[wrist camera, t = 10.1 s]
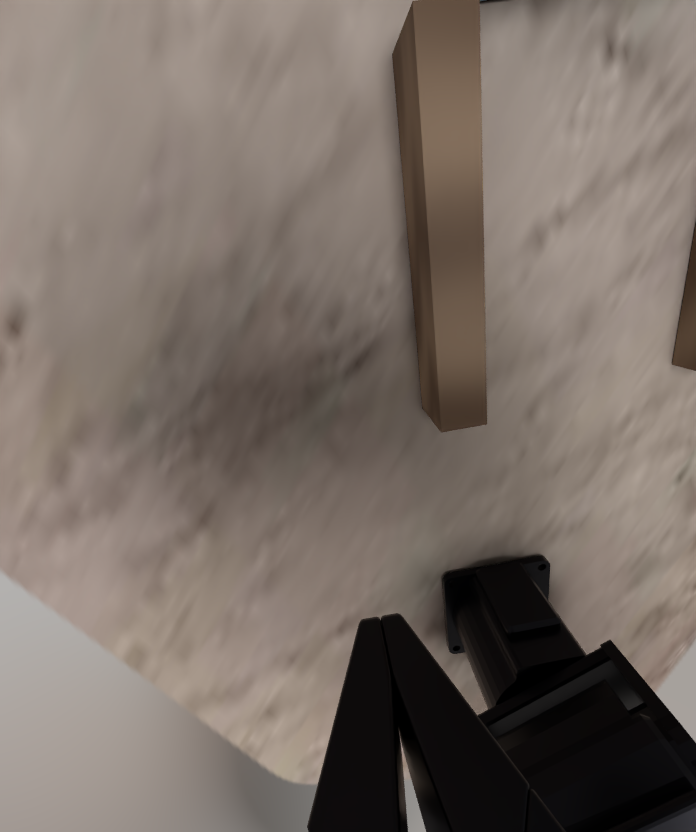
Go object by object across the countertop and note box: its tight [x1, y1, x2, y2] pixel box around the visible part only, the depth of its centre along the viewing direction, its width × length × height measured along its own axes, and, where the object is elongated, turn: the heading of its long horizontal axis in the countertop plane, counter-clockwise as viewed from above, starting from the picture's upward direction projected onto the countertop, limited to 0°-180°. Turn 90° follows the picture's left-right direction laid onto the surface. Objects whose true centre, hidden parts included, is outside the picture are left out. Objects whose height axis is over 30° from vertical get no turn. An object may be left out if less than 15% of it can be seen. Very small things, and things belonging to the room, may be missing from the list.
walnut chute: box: [392, 0, 696, 432], centre depth 15 cm, size 14×15×3 cm
